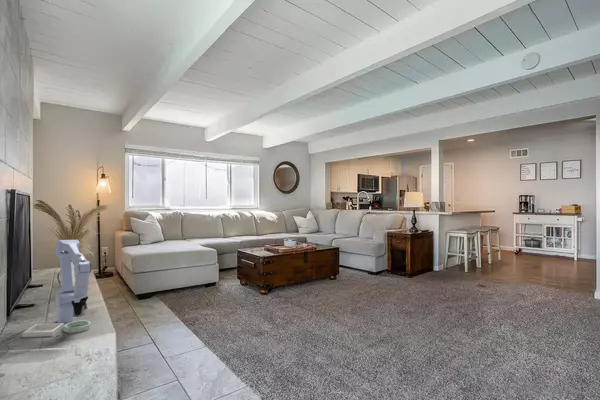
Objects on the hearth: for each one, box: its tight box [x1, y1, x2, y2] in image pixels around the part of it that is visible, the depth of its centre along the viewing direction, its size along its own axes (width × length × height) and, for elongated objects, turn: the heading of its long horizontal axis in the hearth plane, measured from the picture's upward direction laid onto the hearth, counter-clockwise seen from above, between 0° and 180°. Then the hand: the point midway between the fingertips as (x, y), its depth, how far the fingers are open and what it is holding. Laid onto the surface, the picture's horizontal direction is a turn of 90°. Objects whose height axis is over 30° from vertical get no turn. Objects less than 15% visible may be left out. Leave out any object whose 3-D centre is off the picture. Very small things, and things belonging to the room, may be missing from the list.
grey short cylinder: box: [73, 305, 85, 318], centre depth 159 cm, size 5×5×4 cm
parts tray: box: [21, 322, 65, 338], centre depth 153 cm, size 12×12×3 cm
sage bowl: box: [63, 319, 92, 334], centre depth 159 cm, size 11×11×3 cm
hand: (78, 313), depth 160 cm, fingers closed on grey short cylinder, 5 cm apart
